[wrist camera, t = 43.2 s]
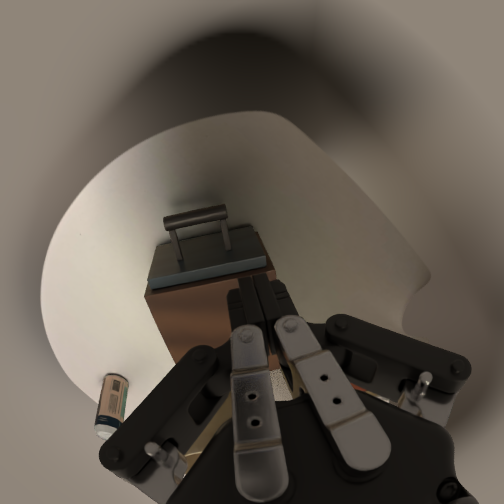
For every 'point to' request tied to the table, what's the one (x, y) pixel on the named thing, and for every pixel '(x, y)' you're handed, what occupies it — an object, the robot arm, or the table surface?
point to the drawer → (204, 251)
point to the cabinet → (199, 311)
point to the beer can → (111, 406)
